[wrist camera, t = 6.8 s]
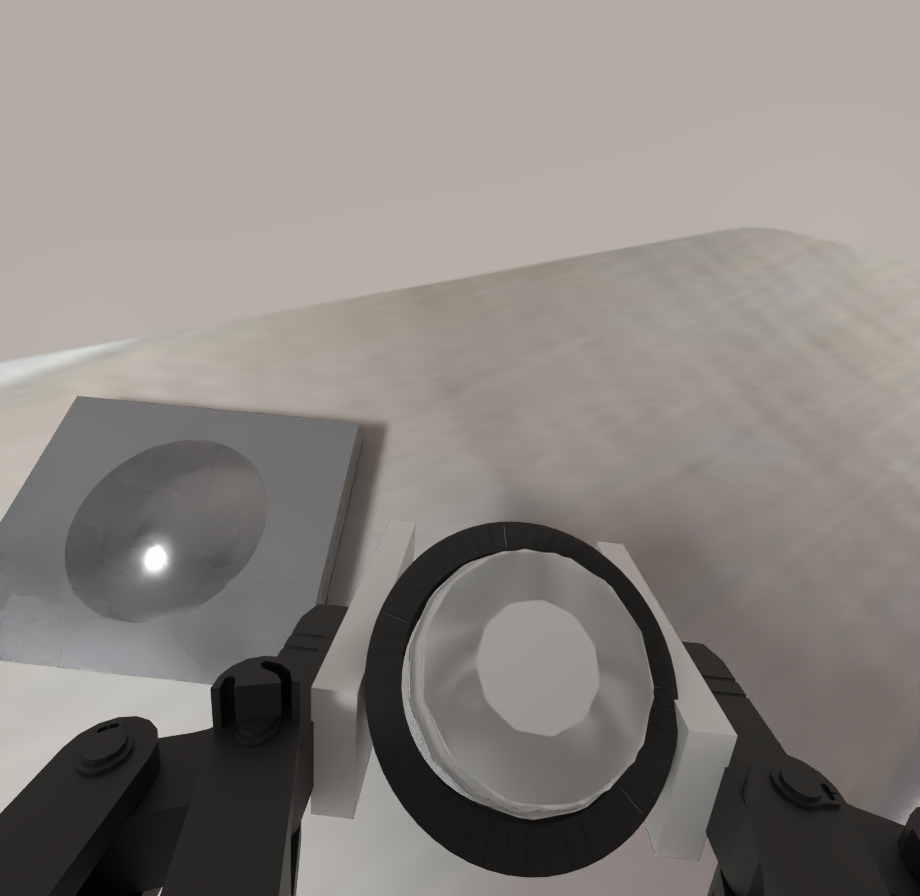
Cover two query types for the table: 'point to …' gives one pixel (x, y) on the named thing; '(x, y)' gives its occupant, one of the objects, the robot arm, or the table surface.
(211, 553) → the flange plate
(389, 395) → the table surface
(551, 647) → the push button
